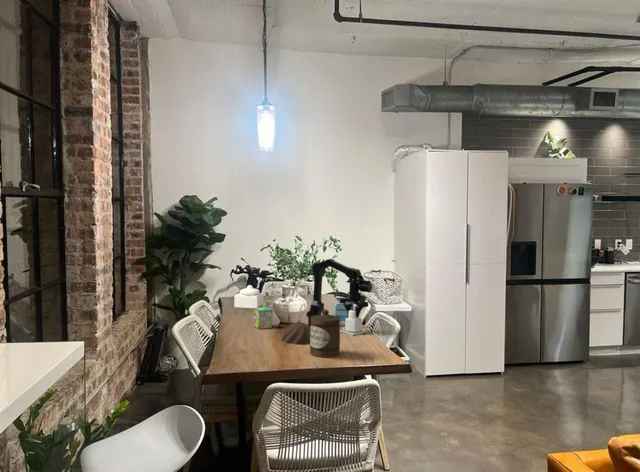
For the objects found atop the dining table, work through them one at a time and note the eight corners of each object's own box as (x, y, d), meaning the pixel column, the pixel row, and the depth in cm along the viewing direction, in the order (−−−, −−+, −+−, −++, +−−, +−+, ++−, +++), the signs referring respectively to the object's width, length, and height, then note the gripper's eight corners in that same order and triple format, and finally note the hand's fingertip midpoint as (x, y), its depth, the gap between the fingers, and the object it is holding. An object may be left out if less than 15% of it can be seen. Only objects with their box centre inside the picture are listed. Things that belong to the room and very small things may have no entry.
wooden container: (303, 353, 245) (304, 309, 244) (324, 347, 255) (325, 306, 254) (324, 359, 234) (325, 313, 233) (345, 354, 245) (346, 310, 244)
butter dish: (256, 308, 361) (257, 287, 361) (233, 307, 364) (233, 286, 364) (263, 304, 378) (264, 284, 378) (241, 303, 381) (241, 283, 381)
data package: (335, 322, 319) (335, 303, 319) (333, 320, 324) (334, 302, 323) (353, 321, 321) (353, 303, 321) (351, 320, 326) (352, 302, 325)
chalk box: (253, 326, 302) (253, 302, 301) (267, 325, 306) (267, 301, 305) (258, 329, 293) (258, 305, 293) (272, 328, 298) (273, 304, 297)
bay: (343, 331, 294) (343, 327, 294) (329, 327, 304) (329, 323, 304) (359, 328, 303) (359, 325, 303) (344, 324, 312) (344, 321, 312)
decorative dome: (308, 334, 284) (308, 317, 283) (322, 343, 266) (323, 324, 265) (276, 337, 276) (277, 319, 275) (289, 346, 258) (289, 327, 257)
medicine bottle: (351, 328, 295) (352, 308, 295) (361, 330, 291) (362, 310, 290) (344, 330, 290) (345, 310, 289) (354, 332, 285) (355, 311, 285)
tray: (353, 335, 282) (353, 333, 282) (340, 332, 291) (340, 330, 291) (366, 333, 290) (366, 331, 290) (353, 329, 298) (353, 327, 298)
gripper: (375, 291, 288) (374, 318, 288) (352, 287, 302) (352, 312, 302) (362, 293, 280) (361, 320, 281) (339, 289, 294) (338, 314, 295)
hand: (353, 316), depth 290 cm, fingers closed on medicine bottle, 6 cm apart
